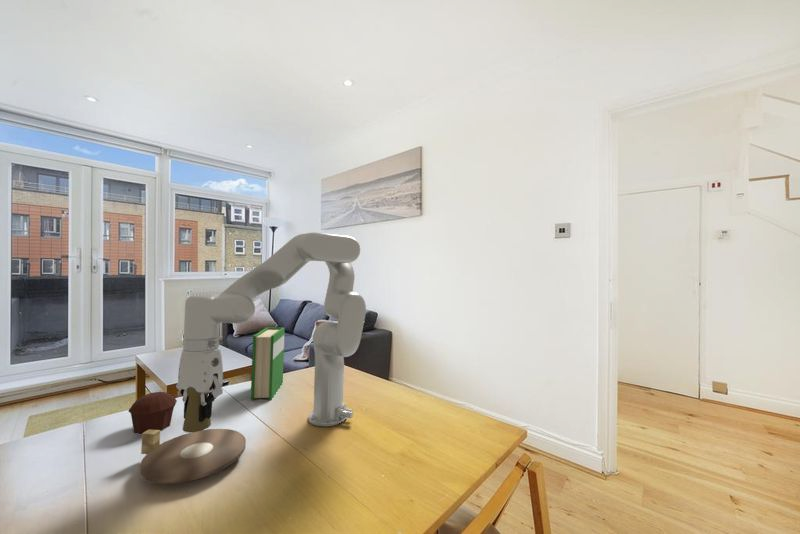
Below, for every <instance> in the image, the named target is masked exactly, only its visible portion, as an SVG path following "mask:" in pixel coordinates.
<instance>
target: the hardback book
mask: <svg viewBox="0 0 800 534" xmlns="http://www.w3.org/2000/svg"><path fill="white" fill-rule="evenodd" d="M285 332H286V331H285V327H265V328H264V329H262V330H260V331H258V332H257V333H255V334H253V335H252V353H251V354H252V355H251V356H252V357H251V381H250V383H251V385H250V401H255V400H256V399H268V401H272V400H273V399H274V397H275V396H274V395H276V394H277V393H278V391H279V390H280V389H281V387H282V386H283V384H284V383H283V382H284V358H285V357H284V356H285ZM282 383H283V384H282ZM281 385H282V386H281ZM280 386H281V387H280ZM278 389H279V390H278ZM276 392H277V393H276ZM272 398H273V399H272Z"/></svg>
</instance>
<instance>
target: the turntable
mask: <svg viewBox="0 0 800 534" xmlns="http://www.w3.org/2000/svg"><path fill="white" fill-rule="evenodd" d="M160 441H161V431H160V430H147V431H146V432H144V433H142V435H141V453H140V454H141V455H144V457H143V458H142V459H141V461H140V463H139V464H140V465H139V472H140V476H141V477H142V478H143V479H144V480H147V481H148V482H153V483H156V484H178V483H185V482H190V481H194V480H198V479H200V478H201V479H202V478H204V477H207V476H209V475H213V474H215V473H217V472H220V471H222V470H223V469H225V468H226V467H228V466H230V465H232V464H233V463H234V462H236V461H237V460H238V459H239V458H240V457H241V456H242V455H243V454H244V452H245V450H246V443H247V442H246V437H245V436H244V434H243V433H241V432H239V431H237V430H234V429H230V428H209V429H208V428H207V429H204V430H202V431H198V432H186V433H184V434H181V435H178V436H175V437H173V438H171V439H168V440H166V441H164V442H162V443H160Z"/></svg>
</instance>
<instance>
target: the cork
mask: <svg viewBox="0 0 800 534" xmlns="http://www.w3.org/2000/svg"><path fill="white" fill-rule="evenodd" d="M187 395H188V397H189V400H188V405H187V410H186V415H185V418H184V420H183V426H182V431H183V432H185V433H191V432H198V431H202V430H207V429H208V428H210V427H211V426H212V419H211V418H212V417H211V418H209V419H208V418H206V419H205V420H204V421H202V422H199V406H200V405H202V404H201V393H199V392H197V391H196V390H195V389H194V388H193V387H188V388H187ZM208 396H209V393H208V394H206V398H207V397H208Z"/></svg>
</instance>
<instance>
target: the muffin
mask: <svg viewBox="0 0 800 534" xmlns="http://www.w3.org/2000/svg"><path fill="white" fill-rule="evenodd" d="M177 401H178V400H177V399H176V398H175V396H174V395H172V394H171V393H168V392H165V391H155V392H151V393H146V394H145V395H142V396H141V397H139V398H137V399H136V400H135V401H134V403H133V404H132V405H131V406H130V407H129V409H128V412H129V413H130V416H131V422H132V427H133V433H134V434H137V433H138V434H137V435H139V434H142V433H144V432H146V431H147V430H160V432H162V431H164V430H165V429H167V428H169V427H170V426H171V423H172V417H173V413H174V407H175V406H176V404H177Z"/></svg>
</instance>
